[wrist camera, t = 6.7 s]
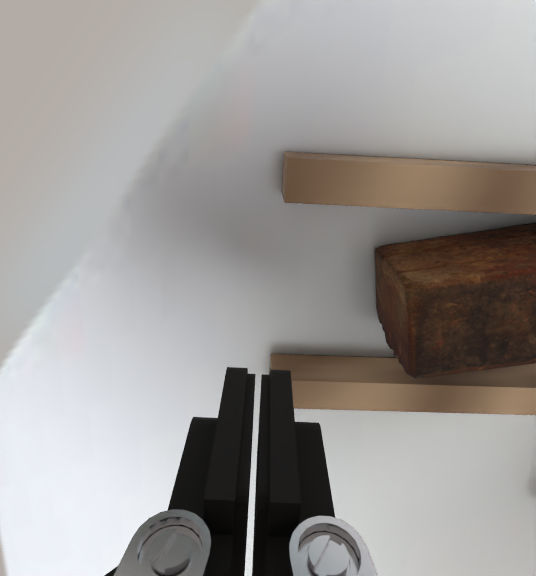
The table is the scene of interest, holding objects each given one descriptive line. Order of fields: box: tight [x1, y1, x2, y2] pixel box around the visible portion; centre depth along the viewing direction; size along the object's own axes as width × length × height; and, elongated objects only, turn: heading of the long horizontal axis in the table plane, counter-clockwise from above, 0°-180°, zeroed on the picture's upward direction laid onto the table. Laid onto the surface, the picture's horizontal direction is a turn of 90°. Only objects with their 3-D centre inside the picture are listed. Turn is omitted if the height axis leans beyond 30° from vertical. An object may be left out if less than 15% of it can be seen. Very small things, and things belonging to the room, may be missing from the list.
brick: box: [375, 224, 536, 378], centre depth 16 cm, size 11×4×5 cm, turn 98°
